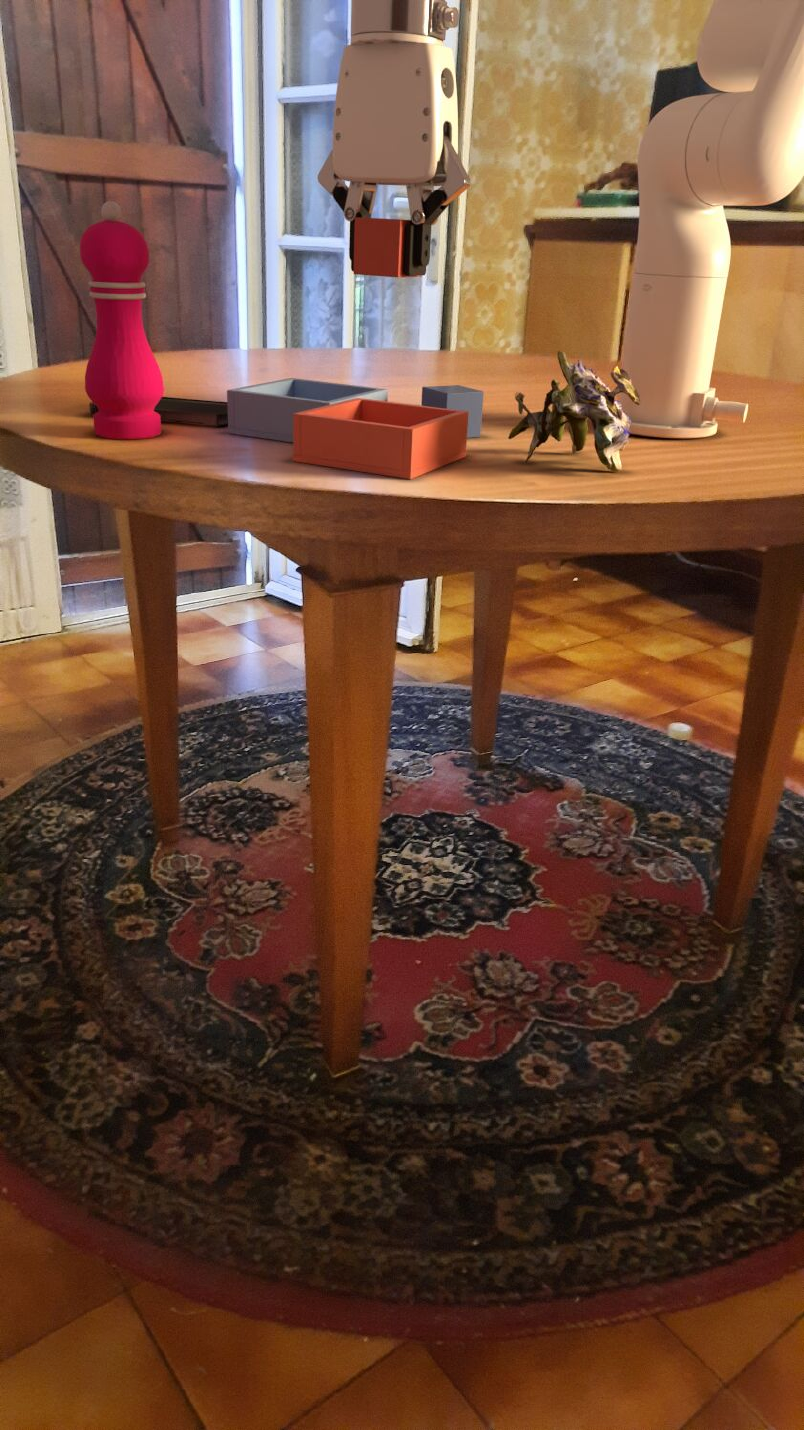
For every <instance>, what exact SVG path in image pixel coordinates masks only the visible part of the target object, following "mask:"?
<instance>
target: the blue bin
mask: <svg viewBox="0 0 804 1430" xmlns="http://www.w3.org/2000/svg"><path fill="white" fill-rule="evenodd" d="M388 395H389V389H388V388H382V387H381V388H380V387H372V386H364V385H356V384H355V385H354V384H348V383H347V384H346V383H338V382H329V381H322V380H321V381H320V380H312V379H303V378H295V377H290V378H284V379H279V380H273V381H268V382H264V383H263V382H262V383H258V384H252V385H247V386H241V387H235V388H231V389H227V390H226V402H227V407H228V424H227V433H228V434H230V435H231V434H232V435H237V436H245V437H252V438H259V439H266V440H271V441H272V440H273V441H278V442H279V441H280V442H285V443H292V444H293V414H294V413H298V412H302V411H307V410H311V409H315V408H319V407H323V406H327V405H331V404H335V403H339V402H344V401H348V400H352V399H356V398H363V399H371V400H380V401H388V397H389V396H388Z"/></svg>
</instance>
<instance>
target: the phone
mask: <svg viewBox="0 0 804 1430" xmlns="http://www.w3.org/2000/svg"><path fill="white" fill-rule="evenodd" d="M97 412H99V409H98V407H97V406H96V405H95V404H94V403H93V402H92V401H89V413H90V415H91V416H93V415H94V414H95V413H97ZM154 412H157V413H158V414H159V415H160V416H161V422H166V423H179V424H190V425H200V426H201V425H202V426H212V427H213V426H214V427H215V426H216V427H217V426H218V427H219V426H228V407H227V401H218V400H207V399H195V398H183V397H171V396H170V397H169V396H162V398H161V399H160V401H159V402H158V403H157V405H156V406H155V408H154Z"/></svg>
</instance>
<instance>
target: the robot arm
mask: <svg viewBox="0 0 804 1430" xmlns="http://www.w3.org/2000/svg"><path fill="white" fill-rule="evenodd" d="M350 7H351V8H350V10H351V11H350V44H345V45H344V48H343V52H342V56H341V61H340V66H339V71H338V78H337V86H336V91H335V92H336V93H335V103H334V112H333V113H334V114H333V126H332V127H333V129H332V149H331V151H330V152H329V154H328V156H327V158H326V160H325V162H324V163H323V165H322V167H321V168H320V171H319V172H318V174H317V181H318V183H319V184H320V185H321V186H322V188H324V189H325V190H326V191H327V193H328V194H329V195H331V196H332V197H333V199H334V201H335V202H336V204H337V205H338V206H339V208H340V209H341V211H342V212H343V217H344V219H345V220H346V221H347V222H349V243H348V244H349V246H348V249H349V251H348V256H349V257H348V258H349V259H350V269H351V271H352V272H353V273H354V233H355V217H360V218H372V215H373V210H374V206H375V202H376V197H377V191H378V187H379V186H380V185H381V186H405V188H406V195H407V201H408V208H409V214H410V220H411V223H410V224H406V227H405V235H404V258H403V273H404V274H405V275H406V276H422V277H423V276H425V275H426V273H427V266H429V264H430V259H431V244H432V243H431V242H432V241H431V240H432V226H434V225H436V224H437V222H438V219H439V217H440V216H441V215H442V214H443V212H445V210H446V209H447V208H448V207H449V206H450V205H451V203H452V201H454V200H456V199H457V198H458V197H460V195H461V194H463V193H464V192H466V190H468V189H469V188H470V186H471V179H470V176H469V175H468V172H467V170H466V168H465V167H464V165H463V163H462V161H461V159H460V157H459V115H458V114H459V111H458V108H459V107H458V89H457V77H456V76H457V75H456V68H455V67H456V66H455V58H454V53H453V49H452V48H450V47H448V46H446V45H445V46H444V41H446V33H447V32H446V31H448V30H450V29H456V28H457V27H458V26H459V22H460V14H459V10H458V8H457V7H455V6H454V7H449V6H448V2H447V1H446V0H351V3H350ZM696 52H697V53H696V61H697V62H696V63H697V68H698V72H699V74H700V77H701V78H702V80H703V81H704V82H705V83H706V84H707V85H708V86H710V87H711V88H713V89H715V90H717V91H721V92H718V93H710V94H700V95H692V96H688V97H684V98H681V99H679V100H676V101H673V102H672V103H669V104H667V105H666V106H665V107H664V108H663V107H662V109H661V110H660V111H658V113H655V115H654V116H653V118H652V119H651V120H650V122H649V123H648V125H647V126H646V128H645V129H644V132H643V135H642V137H641V141H640V143H639V148H638V156H637V181H638V204H639V208H638V209H639V210H638V211H639V212H638V213H639V214H638V231H637V243H636V250H635V251H636V252H635V261H634V266H633V267H634V268H633V273H632V281H631V290H630V296H629V305H628V312H627V320H626V327H625V335H624V344H623V351H622V359H621V365H620V366H621V367H620V369H624V370H625V371H626V372H627V373H628V377H629V378H630V379H631V382H632V384H633V386H634V387H635V389H636V390H637V392H638V394H639V397H640V401H641V404H640V405H637V404H635V403H634V402H633V401H632V400H631V399H630V398H629V396H628V395H627V394H625V393H622V392H621V393H618V394H617V396H616V397H617V398H616V400H617V401H620V404H621V405H622V410H623V413H624V414H626V415H628V416H629V420H631V425H630V426H629V430H630V433H629V434H630V435H635V436H640V437H641V436H642V437H651V438H662V439H663V438H664V439H699V438H707V437H711V436H713V435H715V434H717V431H718V422H717V420H716V419H719V420H726V421H729V422H737V423H745V421H746V420H747V416H748V411H749V403H746V402H739V401H731V400H728V401H726V400H719V397H716V396H715V395H716V387H710V385H711V384H710V383H711V377H712V373H713V366H714V360H715V354H716V347H717V342H718V335H719V330H720V323H721V317H722V311H723V305H724V299H725V294H726V287H727V281H728V278H729V272H730V271H729V270H730V263H731V254H732V253H731V251H732V248H731V247H732V246H731V237H730V231H729V226H728V223H727V219H726V215H725V210H724V206H730V207H731V206H733V207H734V206H735V207H736V206H737V207H739V206H740V207H742V206H743V207H744V206H745V207H756V206H767V205H770V204H775V203H777V202H779V201H780V200H782V199H784V198H786V197H787V196H788V195H790V193H791V192H793V191H794V190H795V188H796V187H798V185H799V184H800V182H801V181H802V180H803V178H804V0H713V3H712V5H711V7H710V10H709V13H708V15H707V17H706V19H705V22H704V25H703V28H702V30H701V34H700V36H699V41H698V47H697V51H696ZM345 182H349V185H347V184H346V183H345ZM435 187H439V188H437V189H435Z"/></svg>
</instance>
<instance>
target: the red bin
mask: <svg viewBox="0 0 804 1430" xmlns="http://www.w3.org/2000/svg"><path fill="white" fill-rule="evenodd" d="M468 415H469V412H468V411H460V410H453V409H445V408H436V407H428V406H421V404H420V405H419V404H411V403H404V402H403V403H402V402H395V401H388V400H387V401H380V400H371V399H363V398H356V399H352V400H348V401H344V402H339V403H335V404H331V405H327V406H323V407H319V408H315V409H311V410H307V411H302V412H298V413H294V414H293V443H292V445H293V446H292V447H293V449H292V450H293V455H292V461H293V462H296V463H304V464H310V465H315V466H316V465H317V466H322V467H329V468H336V469H341V470H346V471H347V470H348V471H353V472H354V471H355V472H359V473H361V472H362V473H368V474H373V475H380V476H387V477H393V478H400V479H405V480H412V479H414V478H417V477H419V476H422V475H424V474H427V473H429V472H431V471H434V470H437V469H439V468H442V467H443V466H446V465H448V464H449V465H450V464H451V463H453V462H456V461H458V460H460V459H463V458H465V457H466V456H467V445H468V444H467V442H468V438H467V430H468Z"/></svg>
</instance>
